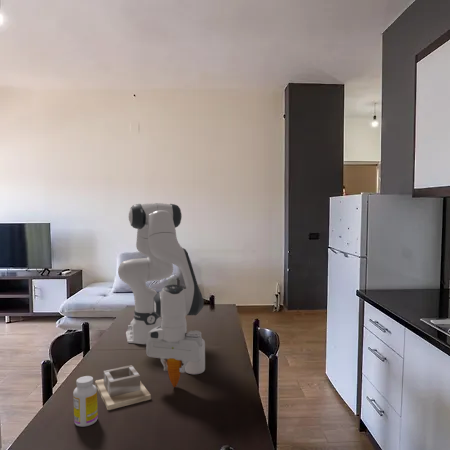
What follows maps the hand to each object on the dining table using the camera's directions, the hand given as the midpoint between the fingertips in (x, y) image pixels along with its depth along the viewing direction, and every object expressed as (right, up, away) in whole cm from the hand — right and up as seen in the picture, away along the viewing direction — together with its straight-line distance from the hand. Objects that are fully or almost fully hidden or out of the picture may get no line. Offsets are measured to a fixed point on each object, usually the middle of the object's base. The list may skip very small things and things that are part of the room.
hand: (174, 370), depth 137 cm
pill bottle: (+6, -5, +14) cm, 16 cm away
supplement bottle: (-24, -7, -21) cm, 32 cm away
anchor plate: (-18, -6, -3) cm, 19 cm away
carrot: (0, -6, 0) cm, 6 cm away
